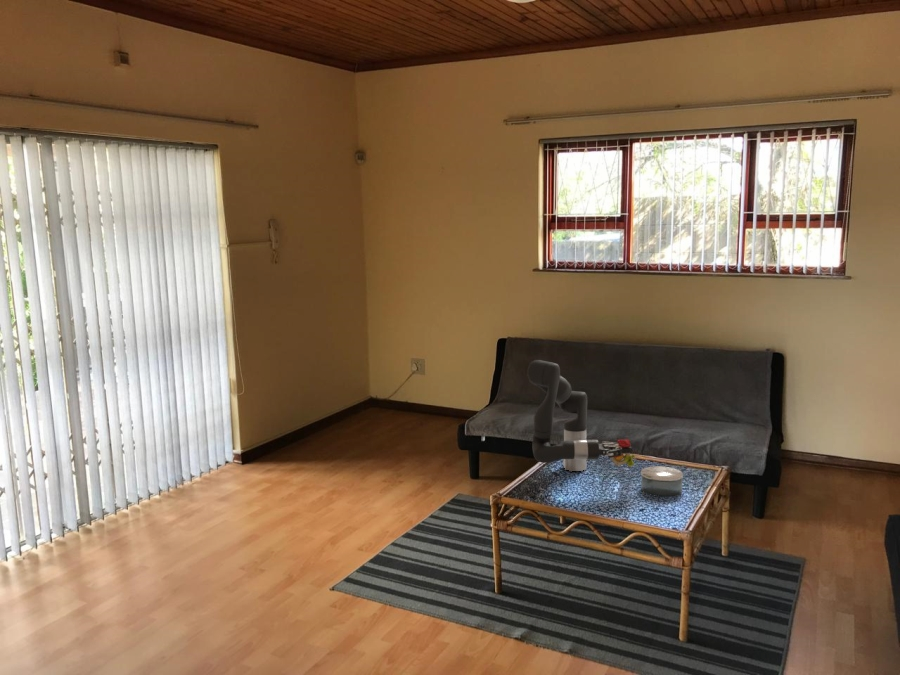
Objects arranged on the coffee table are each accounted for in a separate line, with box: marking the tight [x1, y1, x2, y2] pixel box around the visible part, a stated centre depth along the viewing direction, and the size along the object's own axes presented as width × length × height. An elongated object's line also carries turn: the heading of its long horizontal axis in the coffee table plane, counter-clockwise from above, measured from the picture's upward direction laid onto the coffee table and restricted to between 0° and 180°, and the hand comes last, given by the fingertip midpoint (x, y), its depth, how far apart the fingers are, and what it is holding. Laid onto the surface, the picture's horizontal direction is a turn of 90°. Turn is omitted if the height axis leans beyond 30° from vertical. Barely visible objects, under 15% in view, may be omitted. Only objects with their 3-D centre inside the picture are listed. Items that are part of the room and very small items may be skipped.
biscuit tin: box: [640, 465, 684, 498], centre depth 276 cm, size 15×15×7 cm
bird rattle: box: [610, 439, 636, 468], centre depth 274 cm, size 6×11×9 cm
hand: (630, 448), depth 274 cm, fingers closed on bird rattle
